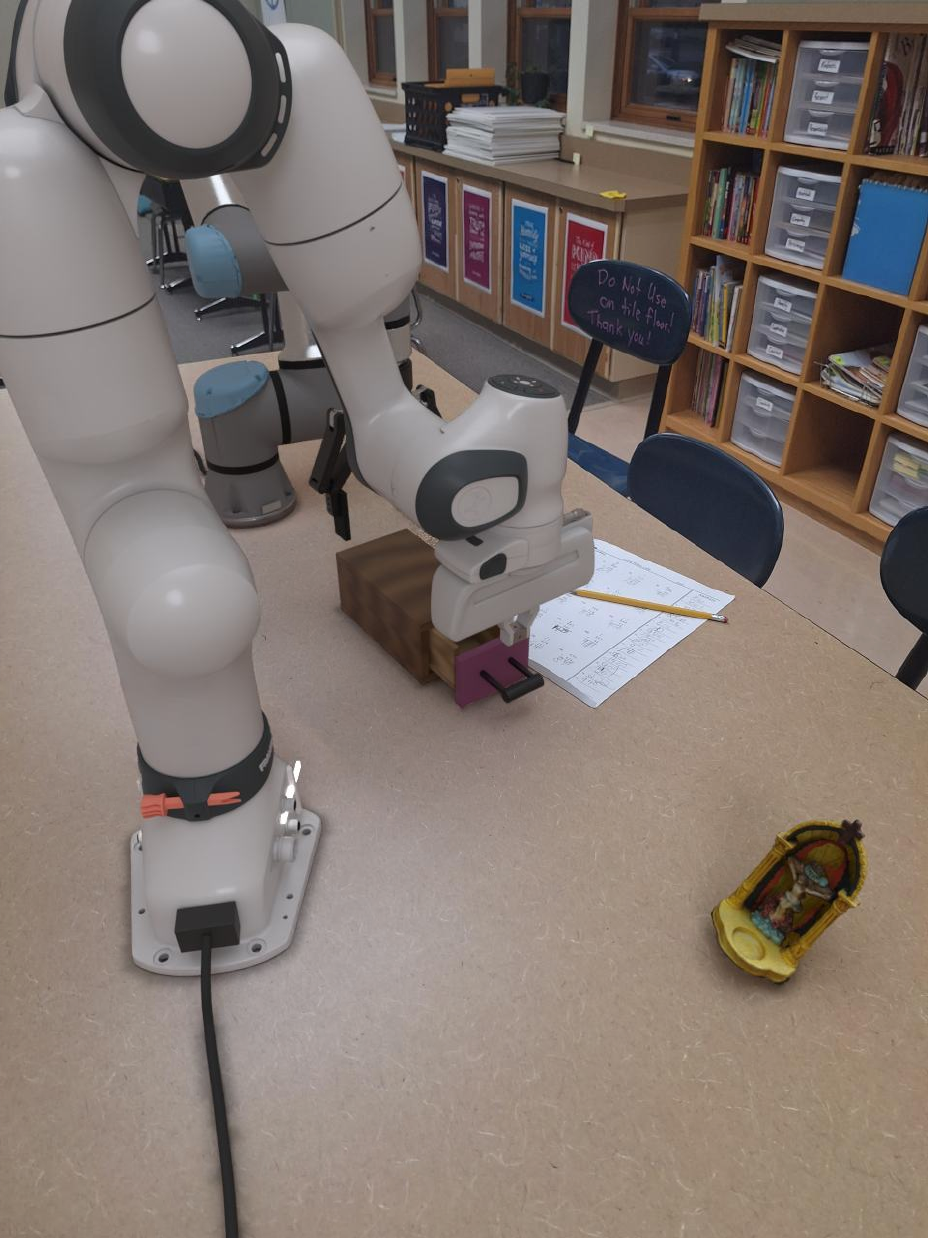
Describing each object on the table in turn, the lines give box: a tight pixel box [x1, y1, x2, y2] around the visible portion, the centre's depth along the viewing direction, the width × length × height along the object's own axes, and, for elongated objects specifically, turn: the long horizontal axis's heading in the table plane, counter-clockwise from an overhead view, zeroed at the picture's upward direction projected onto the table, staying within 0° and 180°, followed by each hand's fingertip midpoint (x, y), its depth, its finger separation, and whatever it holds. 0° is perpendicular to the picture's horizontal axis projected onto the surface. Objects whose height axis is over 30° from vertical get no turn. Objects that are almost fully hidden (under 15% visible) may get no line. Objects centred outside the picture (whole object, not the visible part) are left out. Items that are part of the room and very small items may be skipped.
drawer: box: [428, 624, 545, 709], centre depth 106 cm, size 25×10×7 cm, turn 36°
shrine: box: [710, 818, 868, 986], centre depth 72 cm, size 12×8×15 cm
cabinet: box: [335, 527, 442, 686], centre depth 114 cm, size 20×11×9 cm, turn 36°
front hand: (514, 639), depth 97 cm, fingers closed
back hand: (388, 520), depth 111 cm, fingers open, 13 cm apart
